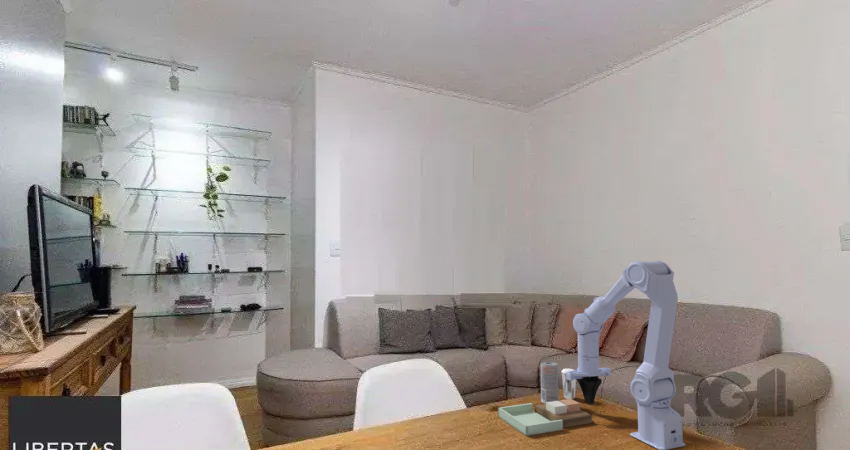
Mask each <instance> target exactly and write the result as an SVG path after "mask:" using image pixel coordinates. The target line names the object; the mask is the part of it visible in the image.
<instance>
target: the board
mask: <svg viewBox="0 0 850 450" xmlns="http://www.w3.org/2000/svg"><path fill="white" fill-rule="evenodd" d="M534 412H536V413H538V414H539V415H541V416H543V417H545V418H546V419H548V420H550V421H555V420H563V429H564V428H569V427H575V426H581V425H587V424H592V423H593V420H592V419H593V418H592V416H593V415H592V414H590V413H588V412H587V411H584V410H582V409H580V411H574V412H567V413H561V414H553V413H551V412H550V411H548V410H546V404H543V403H542V404H535V405H534Z"/></svg>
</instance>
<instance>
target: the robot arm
mask: <svg viewBox="0 0 850 450" xmlns="http://www.w3.org/2000/svg"><path fill="white" fill-rule="evenodd" d="M674 275H675V272H674V271H673V270H672V268H671V267H670V266H669V264H667V263H665V262H664V261H661V260H655V261H638V260H636V261H632V262H631V263H629V265H627V267H626V268H624V269H623V270H622V274H621V276H620V277H619V279H617V281H616V282H615V283H614V285H613V286H612V287H611V288H610V289H609V291H608V292H607V293H606V294H605V296H604V295H602V296H598V297H597V296H596V297H594V298H593V299H592V300H593V302H592V303H591V304H590V305H589V307H586V308H585V309H584V312H582V313H577V314H575V316H574V317H573V320H572V327H573V329H574V331H575V332H576V334H577V368H576V369H574V370H573V371H570V372H566V379H568V380H570V381H573V380H574V379H576V382H577V383H578V385H579V387H580V389H581V392H582V395H583V398H584V402H585V403H586V404H588V405H594V403H595V400H596V395H597V392H598V390H599V387H600V386H601V384H602V378H599V377H605V376H607V377H610V376H612V369H611V368H608V367H600V354H599V353H600V352H599V351H600V347H599V344H600V343H599V342H600V341H599V339H600V337H601V332H602V330H603V328H604V324H605V322H606V321H607V320H608V319H610V317H612V316H613V314H614V313H615V312H616V308H617V307H616V305H617V304H618V303H619V302H620V301H621V300H623V299H624V298H625V297H626V296H627V295H629V293H631V292H632V291H633V290H634V289H636V290H638V291H640V292H641V293H643V294H644V295H646V297H647V298H648V299H649V300H650V311H649V316H648V317H649V318H648V325H647V332H646V341H645V346H644V353H643V354H644V355H643V356H644V357H643V360H642V361H643V362H642V363H641V364H640V365H639V366H638V368H636V371H635V376H634V377H633V379H632V380H631V382H630V384H629V385H630V386H629V387H630V388H629V389H630V392H631V395H632V397H633V399H634V400H635V403H636V404H637V431H635V432H630V433H629V435H630V436H631V437H633V438H635V439H637V440H639V441H641V442H643V443H644V444H647V445H648V446H651V447H653V448H655V449H657V450H671V449H676V448H681V447H685V446H686V443H685V442H684V439H683V438H684V437H683V419H682V416H681V414H680V413H679V412H678V411H677V410H674V409H673V408H672V406H671V403H672V399H673V398H674V396H675V394H676V392H677V391H676V390H677V386H676V384H675V379H674V377H675V373H674V371H672V370H671V369H670V367H669V363H670V356H671V350H672V342H673V335H674V329H675V321H676V315H677V308H678V301H679V298H678V293H677V290H676V286H675V283H674V277H675V276H674Z"/></svg>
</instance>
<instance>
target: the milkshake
mask: <svg viewBox="0 0 850 450" xmlns="http://www.w3.org/2000/svg"><path fill="white" fill-rule="evenodd" d="M569 364H570V366H569V367H568V368H562V370H561V372H560V373H561V377H562V378H561V379H562V380H561V381H562V389H563V390H562V392H563V397H564V400H565V399H572V400H574V399H575V398H576V384H577V380H576V379H574V380H573V381H570V380H568V379H566V372H570V371H573V370H575V369H573V368H572V366H573V364H572V363H569Z"/></svg>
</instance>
